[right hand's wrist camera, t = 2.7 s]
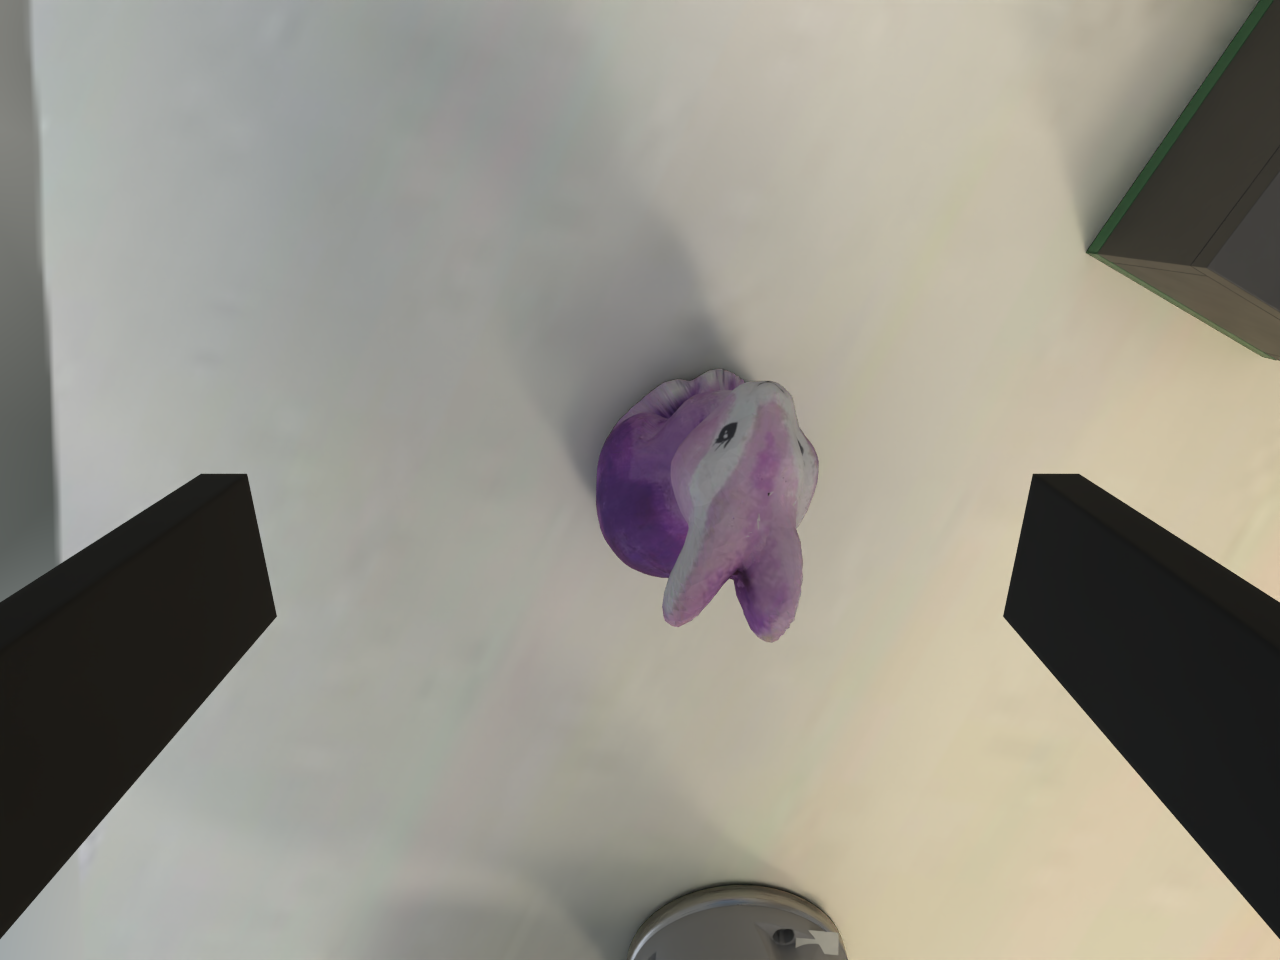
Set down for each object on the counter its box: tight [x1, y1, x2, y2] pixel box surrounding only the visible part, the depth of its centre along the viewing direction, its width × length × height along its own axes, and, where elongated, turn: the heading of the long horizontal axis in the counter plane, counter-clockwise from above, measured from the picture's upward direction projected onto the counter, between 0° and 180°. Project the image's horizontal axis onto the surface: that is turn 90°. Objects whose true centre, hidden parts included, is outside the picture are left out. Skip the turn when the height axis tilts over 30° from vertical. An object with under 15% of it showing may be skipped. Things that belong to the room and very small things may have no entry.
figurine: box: [596, 369, 818, 642], centre depth 30 cm, size 9×10×15 cm
